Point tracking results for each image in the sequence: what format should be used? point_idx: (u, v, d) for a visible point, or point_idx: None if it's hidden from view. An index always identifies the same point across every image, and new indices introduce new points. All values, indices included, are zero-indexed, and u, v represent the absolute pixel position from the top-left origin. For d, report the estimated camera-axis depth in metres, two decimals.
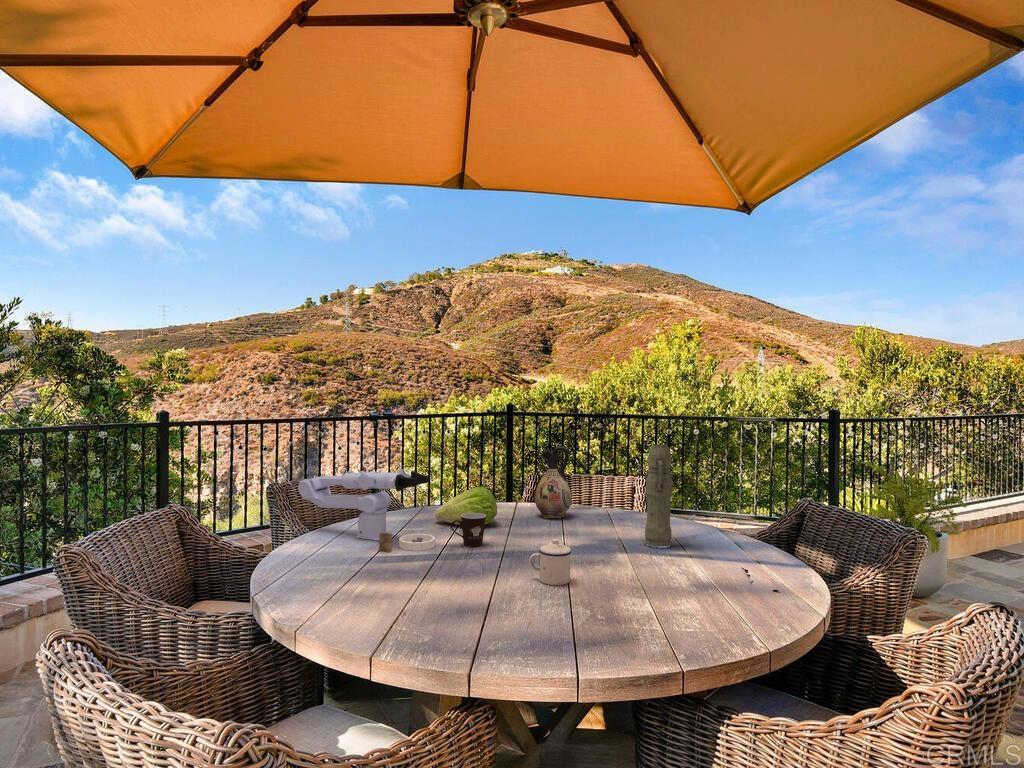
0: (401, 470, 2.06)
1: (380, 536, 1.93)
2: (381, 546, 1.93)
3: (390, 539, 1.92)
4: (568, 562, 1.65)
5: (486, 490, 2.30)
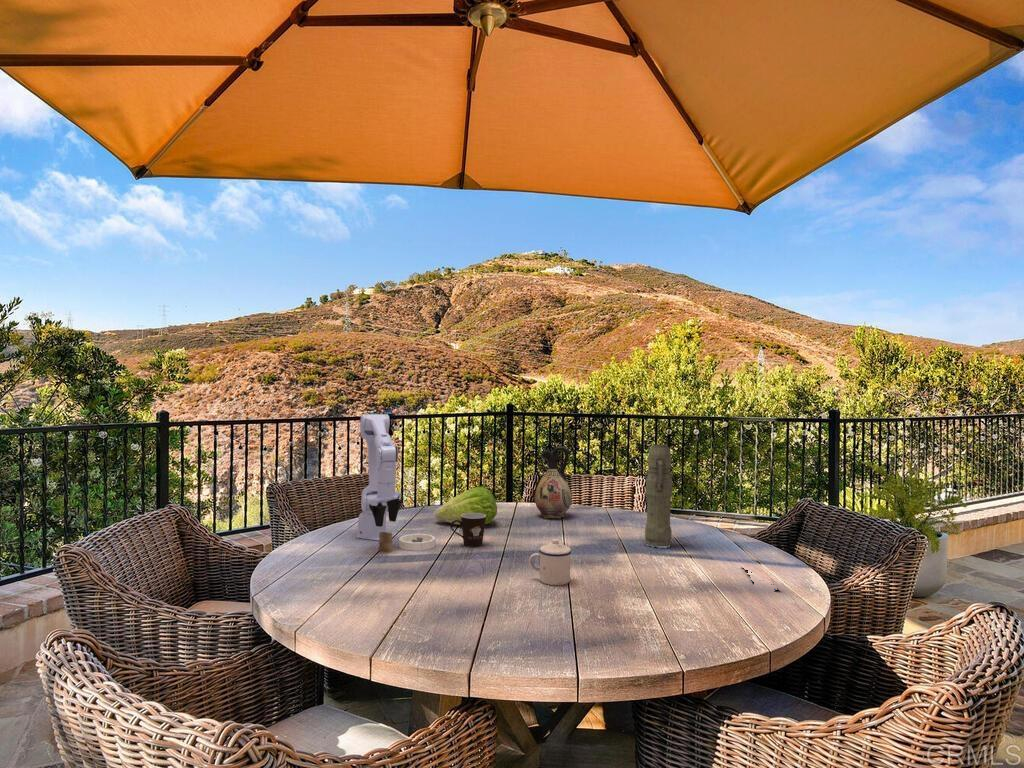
0: (395, 498, 1.92)
1: (380, 536, 1.93)
2: (381, 546, 1.93)
3: (390, 539, 1.92)
4: (568, 562, 1.65)
5: (486, 490, 2.30)
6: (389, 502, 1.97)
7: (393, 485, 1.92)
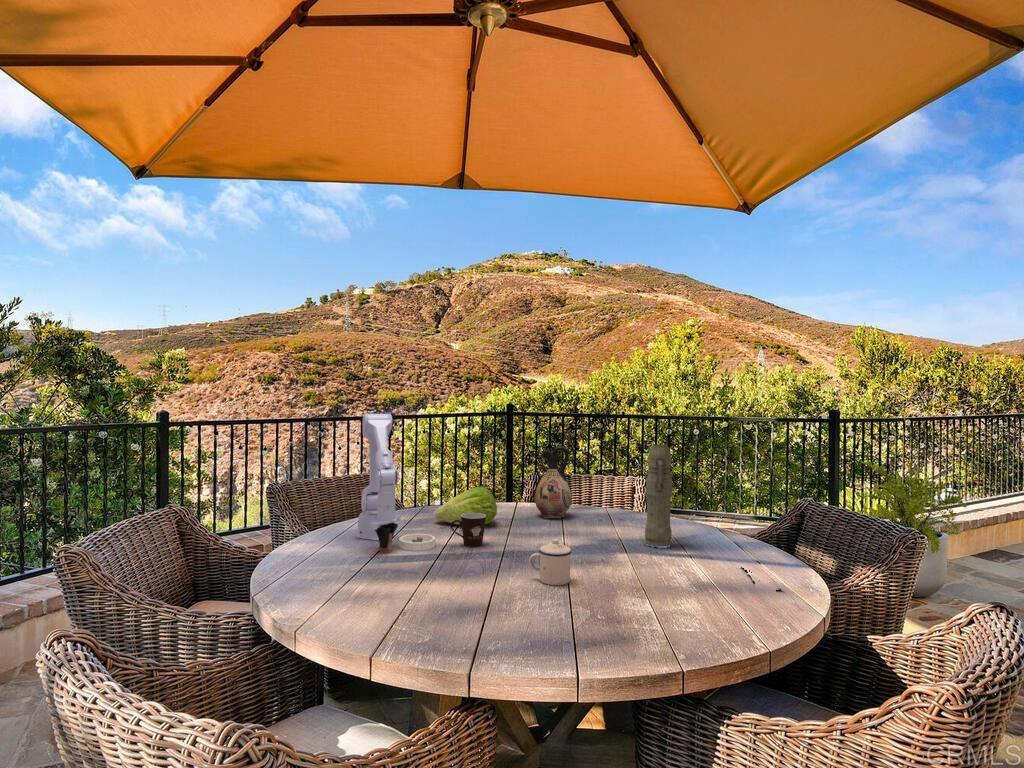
0: (395, 521, 1.92)
1: None
2: None
3: (390, 539, 1.92)
4: (568, 562, 1.65)
5: (486, 490, 2.30)
6: None
7: (393, 508, 1.92)
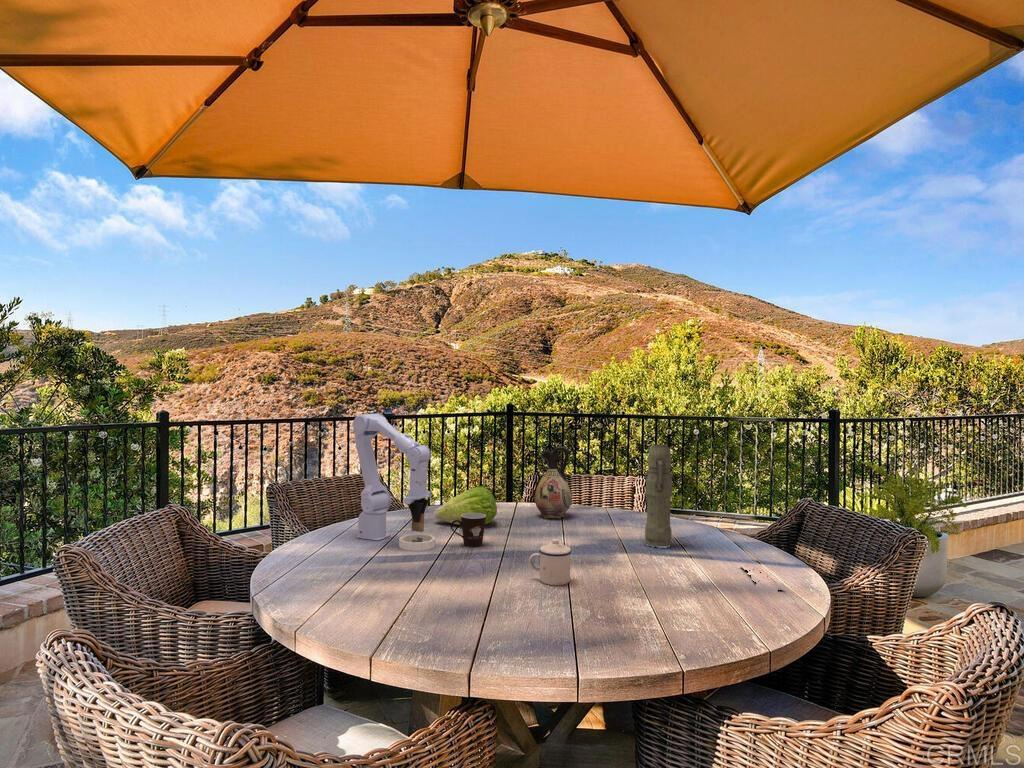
0: None
1: None
2: (413, 526, 2.00)
3: (422, 519, 1.99)
4: (568, 562, 1.65)
5: (486, 490, 2.31)
6: None
7: (425, 484, 1.99)
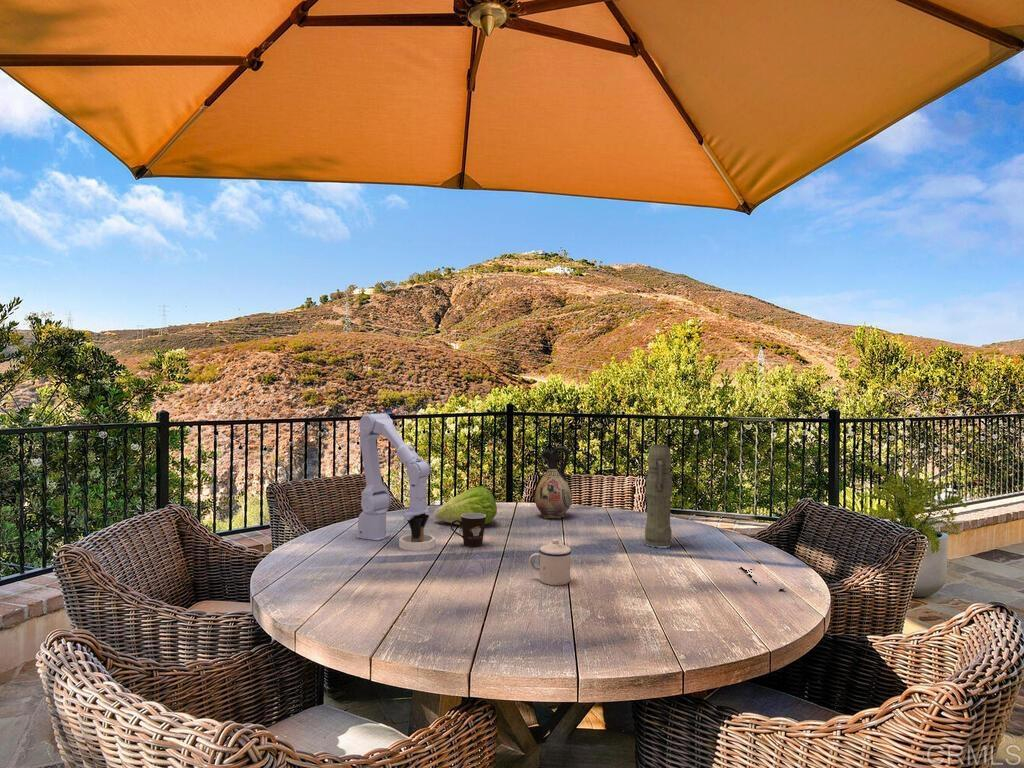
0: (427, 512, 1.99)
1: None
2: None
3: (422, 532, 1.99)
4: (568, 562, 1.65)
5: (486, 490, 2.31)
6: None
7: (424, 500, 1.99)
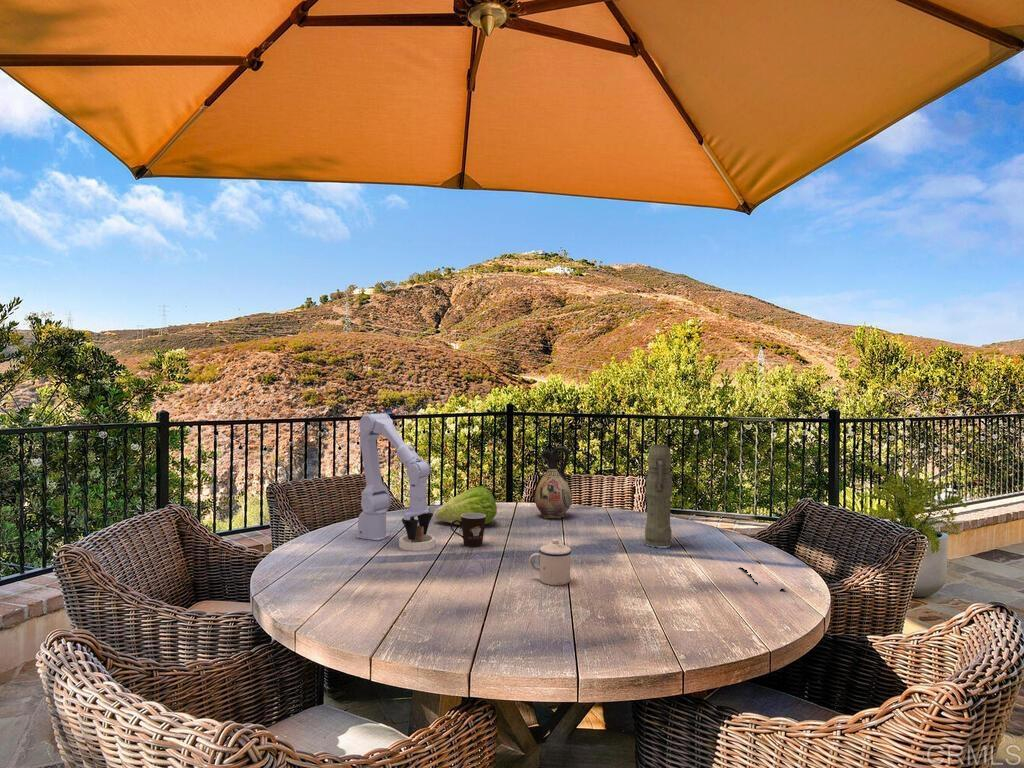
0: (427, 512, 1.99)
1: None
2: None
3: (422, 532, 1.99)
4: (568, 562, 1.65)
5: (486, 490, 2.31)
6: (420, 516, 2.04)
7: (424, 500, 1.99)
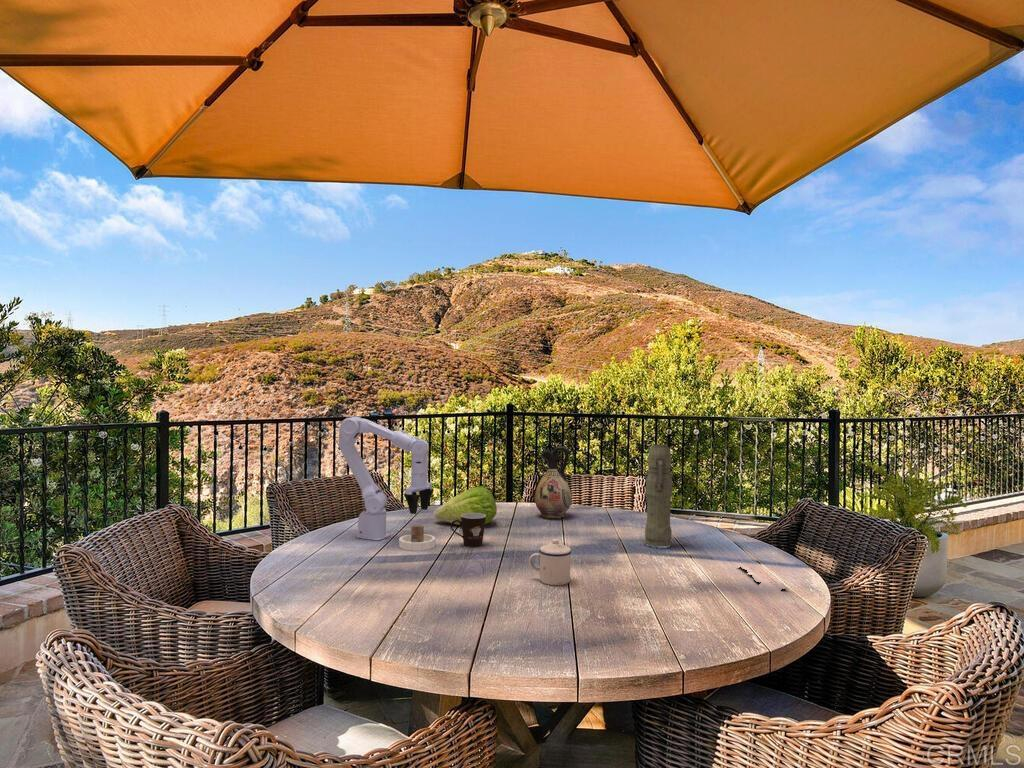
0: None
1: (412, 529, 2.00)
2: None
3: (422, 532, 1.99)
4: (568, 562, 1.65)
5: (486, 490, 2.31)
6: (421, 492, 2.14)
7: (425, 476, 2.09)
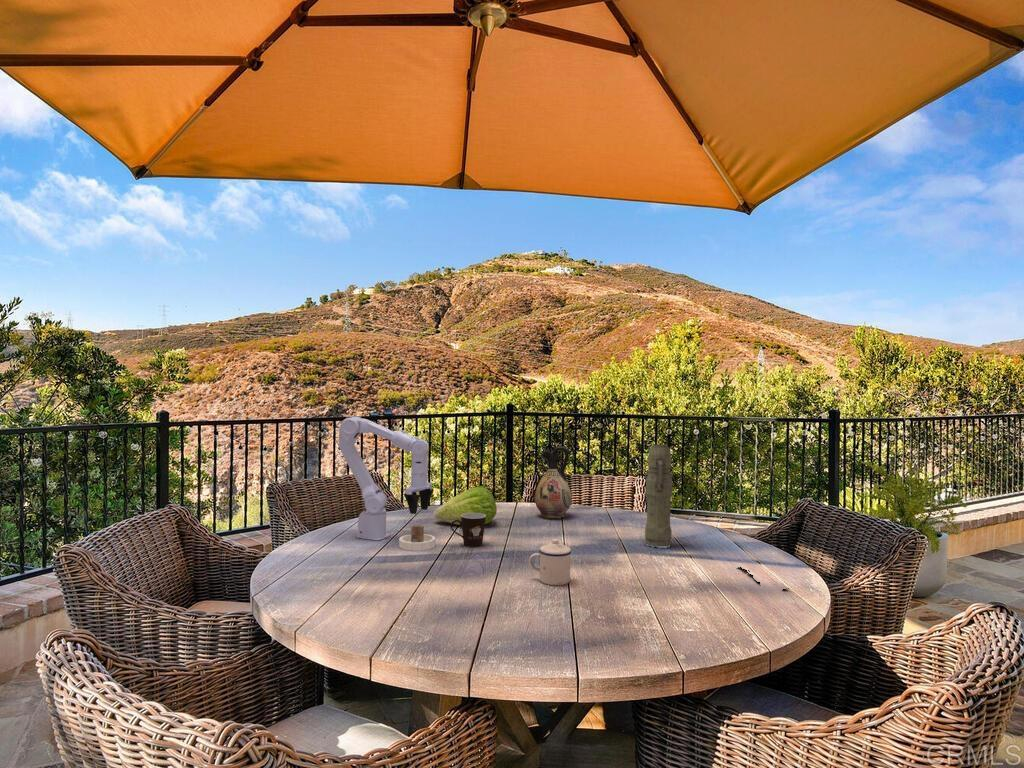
0: None
1: (412, 529, 2.00)
2: None
3: (422, 532, 1.99)
4: (568, 562, 1.65)
5: (486, 490, 2.31)
6: (421, 492, 2.14)
7: (425, 476, 2.09)
